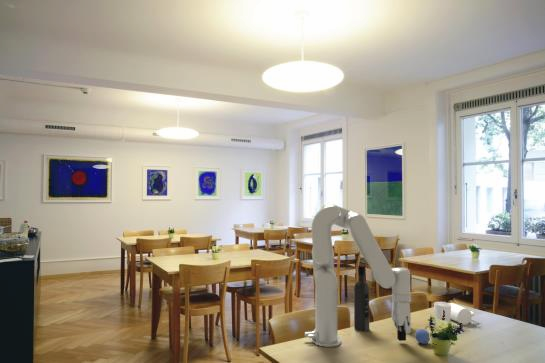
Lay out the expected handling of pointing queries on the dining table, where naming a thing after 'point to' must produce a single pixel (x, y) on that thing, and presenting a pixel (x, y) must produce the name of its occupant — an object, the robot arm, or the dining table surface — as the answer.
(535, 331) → the dining table surface
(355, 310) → the wine bottle
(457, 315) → the mug
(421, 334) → the ball
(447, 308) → the white cup
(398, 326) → the robot arm
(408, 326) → the pin
